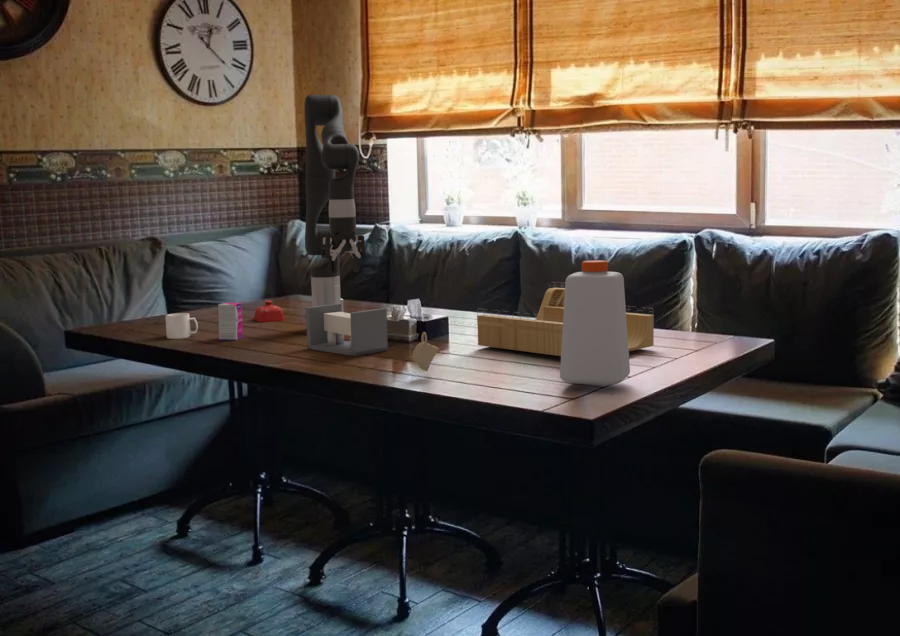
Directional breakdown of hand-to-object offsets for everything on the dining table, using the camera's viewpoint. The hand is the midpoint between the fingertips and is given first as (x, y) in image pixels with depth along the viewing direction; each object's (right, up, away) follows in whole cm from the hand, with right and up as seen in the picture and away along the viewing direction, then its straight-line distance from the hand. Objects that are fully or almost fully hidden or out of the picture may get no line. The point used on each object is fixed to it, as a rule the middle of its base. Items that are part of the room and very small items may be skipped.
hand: (344, 272), depth 288 cm
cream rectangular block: (0, -17, +2) cm, 17 cm away
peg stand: (+1, -22, +3) cm, 22 cm away
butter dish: (-32, -15, +61) cm, 71 cm away
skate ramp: (+65, -21, 0) cm, 68 cm away
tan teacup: (+24, -26, -33) cm, 48 cm away
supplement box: (-38, -20, +27) cm, 50 cm away
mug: (-55, -20, +33) cm, 67 cm away
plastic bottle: (+65, -28, -48) cm, 85 cm away
